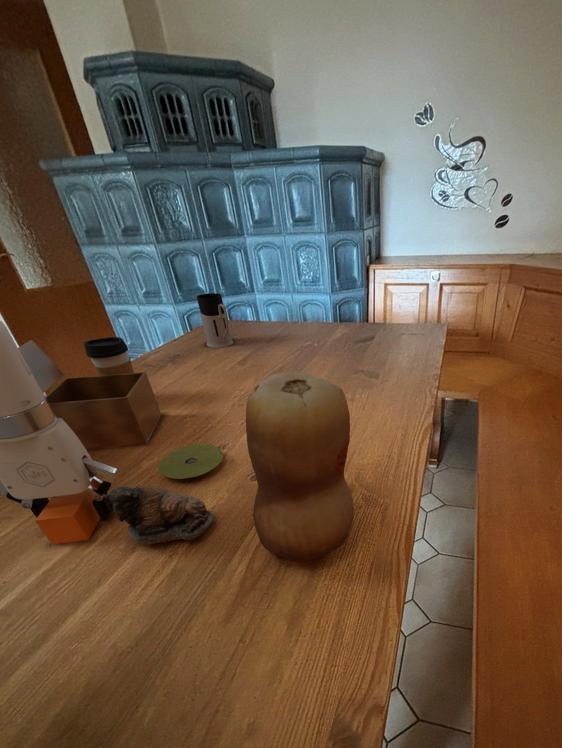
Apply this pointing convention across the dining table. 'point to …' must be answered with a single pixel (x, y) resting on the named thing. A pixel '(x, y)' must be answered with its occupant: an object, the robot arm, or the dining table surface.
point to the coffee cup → (109, 356)
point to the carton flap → (40, 365)
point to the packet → (68, 518)
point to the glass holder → (214, 320)
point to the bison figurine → (159, 514)
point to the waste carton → (107, 409)
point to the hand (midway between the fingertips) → (80, 517)
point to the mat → (190, 461)
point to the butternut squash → (299, 465)
